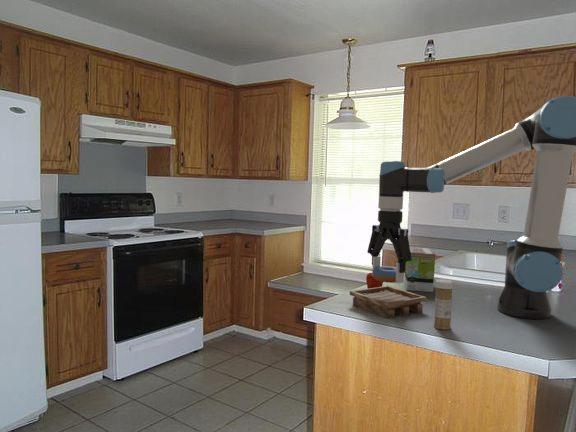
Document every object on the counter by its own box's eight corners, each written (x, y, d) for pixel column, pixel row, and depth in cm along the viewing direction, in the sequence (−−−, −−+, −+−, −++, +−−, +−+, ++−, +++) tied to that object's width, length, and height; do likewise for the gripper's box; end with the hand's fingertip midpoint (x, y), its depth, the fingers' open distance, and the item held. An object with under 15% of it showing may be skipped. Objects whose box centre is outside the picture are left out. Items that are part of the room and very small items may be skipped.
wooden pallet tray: (425, 311, 139) (426, 297, 138) (385, 319, 130) (386, 303, 130) (387, 299, 153) (388, 285, 153) (349, 305, 144) (349, 291, 144)
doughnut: (381, 274, 148) (382, 260, 147) (409, 280, 142) (410, 266, 141) (366, 281, 141) (366, 267, 140) (394, 288, 134) (395, 274, 134)
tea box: (434, 292, 164) (436, 253, 163) (406, 290, 166) (408, 252, 165) (429, 283, 179) (431, 247, 178) (404, 282, 181) (405, 246, 180)
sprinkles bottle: (446, 325, 126) (448, 278, 125) (453, 330, 121) (455, 282, 120) (431, 325, 126) (433, 278, 125) (437, 330, 121) (439, 282, 120)
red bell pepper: (374, 295, 158) (374, 275, 157) (362, 291, 163) (362, 271, 162) (386, 293, 161) (387, 273, 160) (374, 289, 166) (375, 270, 166)
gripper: (426, 212, 131) (422, 285, 133) (375, 207, 151) (372, 271, 152) (408, 212, 128) (405, 288, 129) (358, 207, 147) (355, 273, 149)
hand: (387, 279), depth 141 cm, fingers closed on doughnut, 10 cm apart
